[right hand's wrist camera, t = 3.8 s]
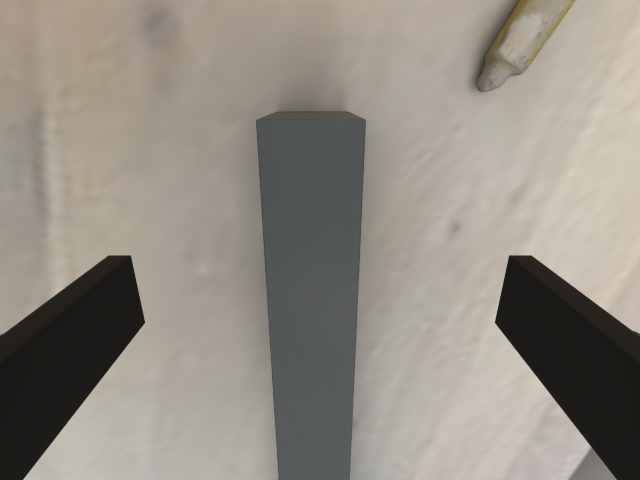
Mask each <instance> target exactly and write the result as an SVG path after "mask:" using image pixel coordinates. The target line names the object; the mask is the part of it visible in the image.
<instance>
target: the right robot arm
mask: <svg viewBox="0 0 640 480" xmlns="http://www.w3.org/2000/svg"><path fill="white" fill-rule="evenodd" d="M144 323H145V320H144V315H143V311H142V306H141V301H140V297H139V292H138V287H137V282H136V278H135V273H134V268H133V264H132V259H131V256H107V257H106V258H105V259H103V260H102V261H101V262H99V263H98V264H97V265H95V266H94V267H93V268H91V269H90V270H89V271H87V272H86V273H85V274H83V275H82V276H81V277H79V278H78V279H77V280H75V281H74V282H73V283H71V284H70V285H69V286H67V287H66V288H65V289H63V290H62V291H60V292H59V293H58V294H56V295H55V296H54V297H52V298H51V299H50V300H48V301H47V302H46V303H44V304H43V305H42V306H40V307H39V308H38V309H36V310H35V311H34V312H32V313H31V314H30V315H28V316H27V317H26V318H24V319H23V320H22V321H20V322H19V323H18V324H16V325H15V326H14V327H12V328H11V329H10V330H8V331H7V332H6V333H4V334H2V335H0V480H23V479H24V478H25V476H26V475H27V474H28V473H29V471H30V470H31V469H32V467H33V466H34V465H35V464H36V462H37V461H38V460H39V458H40V457H41V456H42V455H43V453H44V452H45V451H46V449H47V448H48V447H49V446H50V444H51V443H52V442H53V440H54V439H55V438H56V437H57V435H58V434H59V433H60V431H61V430H62V429H63V428H64V426H65V425H66V424H67V422H68V421H69V420H70V419H71V417H72V416H73V415H74V413H75V412H76V411H77V410H78V408H79V407H80V406H81V404H82V403H83V402H84V401H85V399H86V398H87V397H88V395H89V394H90V393H91V392H92V390H93V389H94V388H95V386H96V385H97V384H98V383H99V381H100V380H101V379H102V377H103V376H104V375H105V374H106V372H107V371H108V370H109V368H110V367H111V366H112V365H113V363H114V362H115V361H116V359H117V358H118V357H119V356H120V354H121V353H122V352H123V350H124V349H125V348H126V347H127V345H128V344H129V343H130V341H131V340H132V339H133V338H134V336H135V335H136V334H137V332H138V331H139V330H140V329H141V327H142V326H143V325H144ZM495 323H496V325H497V326H498V327H499V329H500V330H501V331H502V332H503V334H504V335H505V336H506V338H507V339H508V340H509V341H510V343H511V344H512V345H513V347H514V348H515V349H516V350H517V352H518V353H519V354H520V356H521V357H522V358H523V359H524V361H525V362H526V363H527V365H528V366H529V367H530V368H531V370H532V371H533V372H534V374H535V375H536V376H537V377H538V379H539V380H540V381H541V383H542V384H543V385H544V386H545V388H546V389H547V390H548V392H549V393H550V394H551V395H552V397H553V398H554V399H555V401H556V402H557V403H558V404H559V406H560V407H561V408H562V410H563V411H564V412H565V413H566V415H567V416H568V417H569V419H570V420H571V421H572V422H573V424H574V425H575V426H576V428H577V429H578V430H579V431H580V433H581V434H582V435H583V437H584V438H585V439H586V440H587V442H588V443H589V444H590V446H591V447H592V448H593V449H594V451H595V452H596V453H597V455H598V456H599V457H600V458H601V460H602V461H603V462H604V464H605V465H606V466H607V467H608V469H609V470H610V471H611V473H612V474H613V475H614V476H615V478H616V479H617V480H640V334H639V333H637V332H635V331H632V330H630V329H629V328H628V327H626V326H625V325H624V324H622V323H621V322H620V321H618V320H617V319H616V318H614V317H613V316H612V315H610V314H609V313H608V312H606V311H605V310H604V309H602V308H601V307H600V306H598V305H597V304H596V303H594V302H593V301H592V300H590V299H589V298H588V297H586V296H585V295H584V294H582V293H581V292H580V291H578V290H577V289H575V288H574V287H573V286H571V285H570V284H569V283H567V282H566V281H565V280H563V279H562V278H561V277H559V276H558V275H557V274H555V273H554V272H553V271H551V270H550V269H549V268H547V267H546V266H545V265H543V264H542V263H541V262H539V261H538V260H537V259H535V258H534V257H533V256H509V259H508V264H507V268H506V273H505V278H504V282H503V287H502V292H501V297H500V301H499V306H498V311H497V315H496V320H495Z"/></svg>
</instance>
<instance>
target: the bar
mask: <svg viewBox="0 0 640 480" xmlns="http://www.w3.org/2000/svg"><path fill="white" fill-rule="evenodd" d="M256 126H257V142H258V158H259V174H260V190H261V205H262V221H263V237H264V253H265V269H266V285H267V300H268V316H269V332H270V348H271V364H272V380H273V396H274V411H275V427H276V443H277V459H278V475H279V480H350V459H351V437H352V415H353V392H354V370H355V348H356V326H357V304H358V281H359V259H360V237H361V215H362V193H363V171H364V148H365V126H366V120H365V119H362V118H360V117H358V116H356V115H354V114H352V113H350V112H276V113H273V114H270V115H268V116H265V117H263V118H260V119H258V120H256Z"/></svg>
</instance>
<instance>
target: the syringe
mask: <svg viewBox="0 0 640 480" xmlns="http://www.w3.org/2000/svg"><path fill="white" fill-rule="evenodd" d="M574 1H575V0H520V1H519V2H518V3H517V5H516V6H515V8H514V9H513V11H512V13H511V15H510V17H509V19H508V20H507V22H506V24H505V25H504V27H503V29H502V30H501V31H500V33H499V34H498V36H497V37H496V39H495V41H494V43H493V45H492V46H491V48H490V49H489V50H488V51H487V52H486V54H485V55H484V58H485V64H484V68H483V70H482V72H481V73H480V75H479V77H478V79H477V82H476V85H477V88H478V90H479V91H480V92H486V91H490V90H493V89H495V88H498V87H500V86H501V85H502V84H503V83H504V82H505V80H506V79H507V78H508V77H509V76H512V75H520V74H522V73H523V72H524V71H525V70H526V69H527V68H528V66H529V65H530V64H531V62H532V61H533V60H534V58H535V57H536V55H537V54H538V53H539V51H540V50H541V48H542V47H543V45H544V44H545V42H546V41H547V40H548V38H549V37H550V36H551V34H552V33H553V31H554V30H555V28H556V27H557V26H558V24H559V23H560V21H561V20H562V19H563V17H564V16H565V14H566V13H567V12H568V10H569V9H570V7H571V6H572V4H573V3H574Z"/></svg>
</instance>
